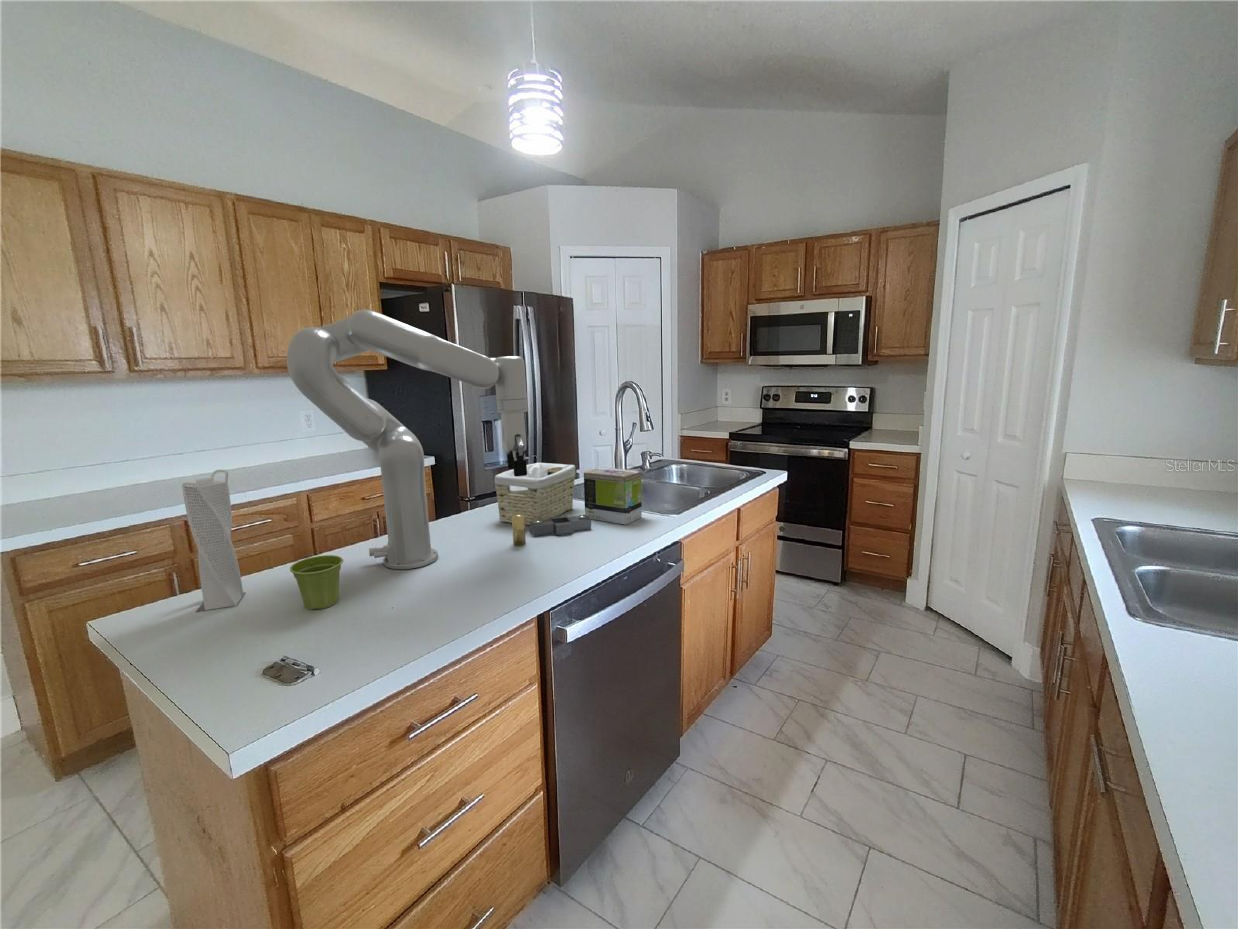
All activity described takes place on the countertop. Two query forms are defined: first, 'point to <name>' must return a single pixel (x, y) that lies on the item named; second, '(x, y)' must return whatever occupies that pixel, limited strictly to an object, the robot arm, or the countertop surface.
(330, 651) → the countertop surface
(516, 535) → the brass pin
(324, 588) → the plant pot
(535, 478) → the storage basket
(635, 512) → the tea box
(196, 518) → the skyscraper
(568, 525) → the grey metal bracket
